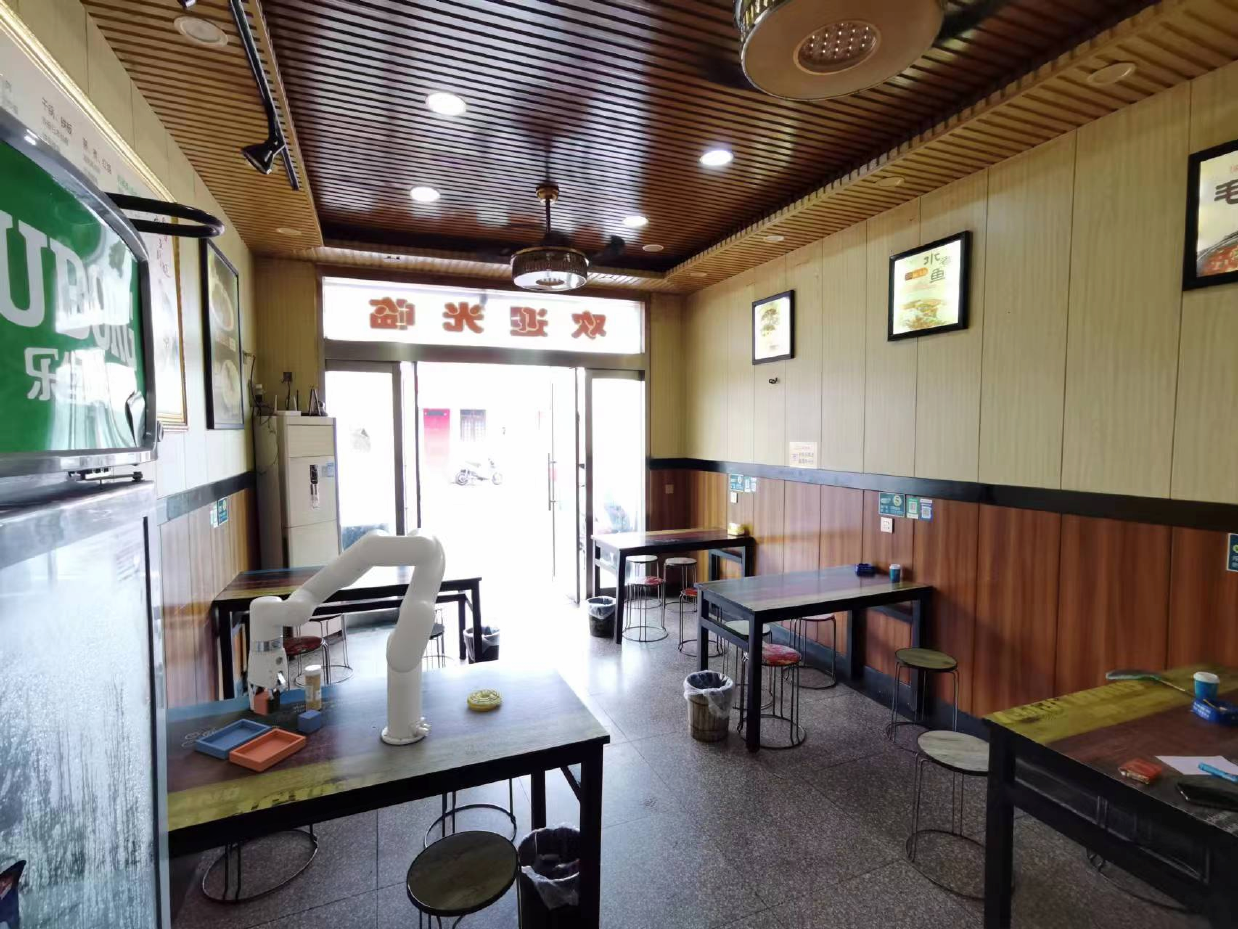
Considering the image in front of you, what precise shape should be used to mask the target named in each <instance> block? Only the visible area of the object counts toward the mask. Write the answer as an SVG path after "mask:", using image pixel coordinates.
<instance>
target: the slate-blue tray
mask: <svg viewBox="0 0 1238 929" xmlns="http://www.w3.org/2000/svg"><path fill="white" fill-rule="evenodd" d="M270 731H272V726H269V725H266V724H263V723H259V722H256V721H252V720H249V719H246V718H242V719H239V720H238V721H235V722H233V723H231V724H229V725H227V726H224V727H222V728H219V729H218V730H216V731H214V732H212V733H210V734H208V735H205V736H203V737H201V738H198V739H197V740H195V742H194V743H195V751H198V752H201V753H204V754H207V755H210V756H213V757H215V758H219V759H222V760H227V759H230V758H229V752H231V751H233V750H235V749H237V748H239V747H241V746H243V745H245V744H247V743H249V742H251V741H252V740H254V739H256V738H258V737H260V736H262V735H264V734H266V733H268V732H270Z"/></svg>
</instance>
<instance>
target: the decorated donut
mask: <svg viewBox="0 0 1238 929" xmlns="http://www.w3.org/2000/svg"><path fill="white" fill-rule="evenodd" d="M502 699H503V696H502V694H501V693H500V691H498V690H495V689H481V690H480V689H479V690H475V691H473V692H471V693H470V694H468V695H467V699H466V702H467V705H468V707H469V708H470V709H471V710H473V711H474V712H491V711H492V710H494V709H497V707H499V706H500V705H501V703H502Z"/></svg>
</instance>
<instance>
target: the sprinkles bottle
mask: <svg viewBox="0 0 1238 929" xmlns="http://www.w3.org/2000/svg"><path fill="white" fill-rule="evenodd" d="M321 673H322V666H321V665H320V664H312V665H309V666H306V667H305V668H304V676H305V677H304V678H305V685H304V686H305V687H304V688H305V712H307V711H309V710H315V711H319V710H321V709H322V707H323V706H322V705H323V704H322V679H321V678H322V677H321Z"/></svg>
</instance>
